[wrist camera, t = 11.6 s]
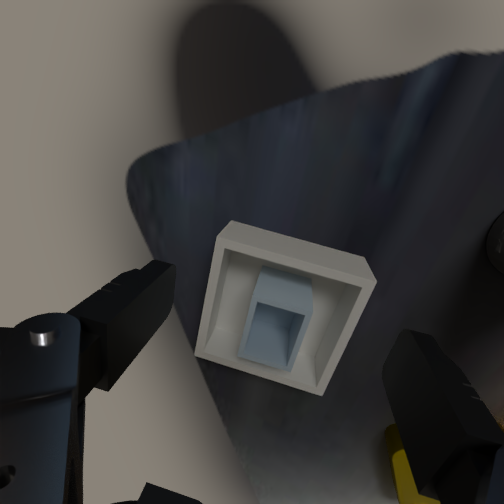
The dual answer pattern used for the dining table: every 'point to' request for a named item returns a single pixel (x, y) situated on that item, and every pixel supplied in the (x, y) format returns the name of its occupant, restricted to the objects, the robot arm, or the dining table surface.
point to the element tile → (404, 470)
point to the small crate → (277, 318)
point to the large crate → (323, 294)
